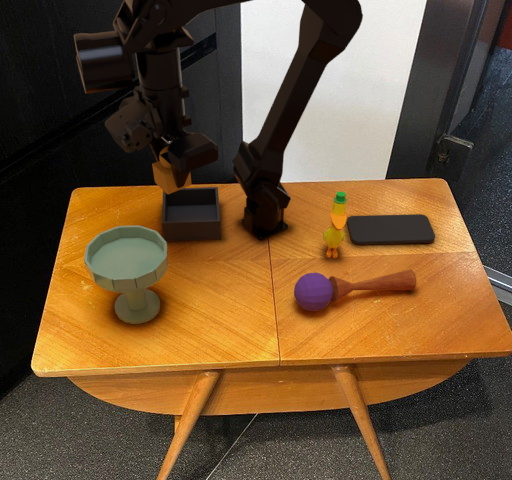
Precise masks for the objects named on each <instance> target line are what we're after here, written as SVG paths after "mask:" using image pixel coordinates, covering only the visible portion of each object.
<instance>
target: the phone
mask: <svg viewBox="0 0 512 480" xmlns="http://www.w3.org/2000/svg"><path fill="white" fill-rule="evenodd" d="M346 225H347V229H348V233H349V237H350V240H351V242H352V243H353V244H355V245H390V244H391V245H396V244H429V243H430V244H431V243H434V241H435V239H436V234H435V232H434V228H433V226H432V224H431V221H430V220H429V217H428V216H426V215H425V214H422V213H421V214H420V213H419V214H418V213H416V214H415V213H413V214H376V215H371V214H370V215H351V216H347V219H346Z"/></svg>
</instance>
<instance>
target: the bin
mask: <svg viewBox="0 0 512 480" xmlns="http://www.w3.org/2000/svg"><path fill="white" fill-rule="evenodd" d="M161 208H162V209H161V227H162V235H163V239H164V240H165V241H166V242H180V241H181V242H183V241H207V240H222V228H221V227H222V226H221V224H222V223H221V211H220V209H221V208H220V196H219V187H218V186H209V187H208V186H207V187H206V186H204V187H185V188H183V189H180V190H178V191H175V192H173V193H170V194H167V193H166V192H165V191H163V190H162V205H161Z"/></svg>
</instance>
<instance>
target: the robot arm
mask: <svg viewBox="0 0 512 480" xmlns="http://www.w3.org/2000/svg"><path fill="white" fill-rule="evenodd" d="M253 1H254V0H123V1H122V3H121V5H120V7H119V9H118V11H117V13H116V15H115V17H114V19H113V22H112V26H113V29H114V30H110V31H101V32H93V33H87V32H80V33H74V34H73V40H74V45H75V51H76V55H75V59H76V62H77V66H78V71H79V75H80V79H81V82H82V87H83V90H84V93H85V95H89V94H95V93H96V94H97V93H103V92H108V91H114V90H115V91H116V90H122V89H128V88H129V86H132V85H133V79H136V72H135V64H134V60H133V55H134V54H135V60H136V67H137V74H138V80H139V85H138V86H134V90H133V96H130V97H126V98H123V99H122V101H121V103H120V104H119V106H118V109H119V110H117V111H116V112H115V113H113V114H112V115H110V117H108V118H107V119H106V120H105V122H104V127H105V128H106V130H107V131H108V133H109V134H110V136H111V137H112V139H113V140H114V142H115V143H116V144H117V145H118V146H119V147H120V148H121V149H122V150H123V151H124V152H125V153H128V154H130V153H134V152H136V150H138V151H140V150H142V149H143V148H144V147H146V146H147V145H148V146H149V148H150V150H151V152H152V155H153V156H154V158H155V161H156V162H158V161H160V159H159V155H160V156H161V157H162V158H163V159H165V160H166V161H167V162H168V163H169V164H170V165H171V169H172V173H173V177H174V180H175V183H176V186H177V188H181V187H183V186H184V184H185V182H186V180H187V178H188V175H189V173H190V174H191V171H194V170H197V169H199V168H202V167H205V166H208V165H209V164H212V163H215V162H218V160H219V145H218V144H216V143H215V142H214V141H213V140H212V139H211V138H209V137H208V136H207V135H205V134H203V132H201V131H196V132H187V131H186V130H185V128H186V127H189V126H192V125H193V123H192V117H191V116H189V114H187V113H186V108H185V99H186V98H189V97H190V89H189V88H188V87H186V86H185V85H183V77H182V66H181V55H180V48H186V47H193V46H194V45H195V40H194V38H193V37H192V36H191V34H190V33H189V31H188V30H187V29H185V28H184V26H187V25H188V24H189V23H191V22H192V21H193V20H194V19H195V18H197V17H198V16H199V15H202V14H204V13H206V12H209V11H213V10H217V9H223V8H226V7H231V6H234V5H239V4H243V3H249V2H253ZM300 2H302V3H303V4H304V6H303V8H302V13H301V15H300V16H301V17H300V20H299V29H298V42H297V48H296V51H295V53H294V55H293V57H292V59H291V62H290V64H289V66H288V68H287V71H286V73H285V75H284V77H283V80H282V82H281V84H280V87H279V88H278V91H277V93H276V95H275V98H274V100H273V102H272V104H271V106H270V109H269V111H268V113H267V115H266V118H265V120H264V122H263V124H262V126H261V129H260V131H259V133H258V135H257V136H256V137H255V138H254V139H253V140H251V141H250V142H249V143H248V142H247V141H245V140H241V142H240V143H239V146H238V150H237V153H236V155H235V156H234V157H233V158H232V160H231V162H232V164H233V168H232V169H233V170H232V171H233V172H232V173H233V174H234V177H235V179H236V180H237V182H238V184H239V186H240V187H241V189H242V191H243V192H244V195H245V196H246V197H245V206H244V208H243V218H241V219H240V223H241V224H242V225H243V227H245V229H247V231H249V232H250V233H251V234H252V235H254V236H255V238H256V239H258V240H259V241H264V240H266V239H268V238H270V237H272V236H275V235H277V234H279V233H282V232H284V231H286V230H288V229H289V228H290V227H289V226H290V225H289V224H288V223H287V222H286V221H284V220H285V219H284V218H285V210H286V209H287V208H288V206H289V204H290V202H291V199H292V197H291V196H290V194H289V193H288V192H287V190H286V188H285V187H284V185H283V183H282V182H281V180H282V177H283V173H284V172H283V171H284V157H285V152H286V149H287V147H288V145H289V143H290V142H291V139H292V137H293V135H294V133H295V131H296V129H297V127H298V125H299V122H300V121H301V118H302V117H303V114H304V112H305V110H306V108H307V107H308V104H309V102H310V100H311V99H312V96H313V94H314V92H315V90H316V88H317V86H318V84H319V82H320V80H321V78H322V76H323V74H324V71H325V69H326V67H328V65H329V63H331V62H332V61H333V60H334V59H336V58H337V57H338V56H340V54H342V53H343V52H345V50H346V48H347V47H348V46H349V45H350V43H351V42H352V40H353V39H354V37H355V35H356V34H357V33H358V31H359V29H360V27H361V25H362V22H363V19H364V14H363V9H362V5H361V3H360V1H359V0H300ZM132 54H133V55H132ZM166 147H168V149H167V152H165V153H163V154H160V152H161V151H162V150H163V149H164V148H166Z"/></svg>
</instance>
